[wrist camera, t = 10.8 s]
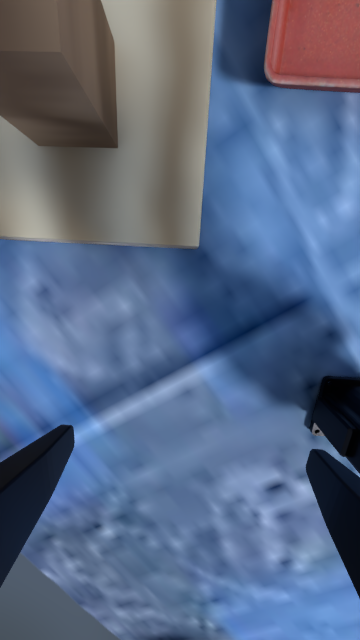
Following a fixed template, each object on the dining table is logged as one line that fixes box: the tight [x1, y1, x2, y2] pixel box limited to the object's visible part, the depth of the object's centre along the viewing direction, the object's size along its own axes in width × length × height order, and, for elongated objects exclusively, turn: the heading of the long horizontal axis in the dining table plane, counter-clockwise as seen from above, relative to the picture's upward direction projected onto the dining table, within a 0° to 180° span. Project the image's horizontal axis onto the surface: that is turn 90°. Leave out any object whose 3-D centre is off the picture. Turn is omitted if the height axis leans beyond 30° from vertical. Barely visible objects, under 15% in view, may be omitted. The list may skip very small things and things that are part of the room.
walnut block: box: [0, 0, 118, 148], centre depth 9 cm, size 5×5×6 cm
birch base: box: [0, 0, 216, 249], centre depth 14 cm, size 16×16×3 cm
